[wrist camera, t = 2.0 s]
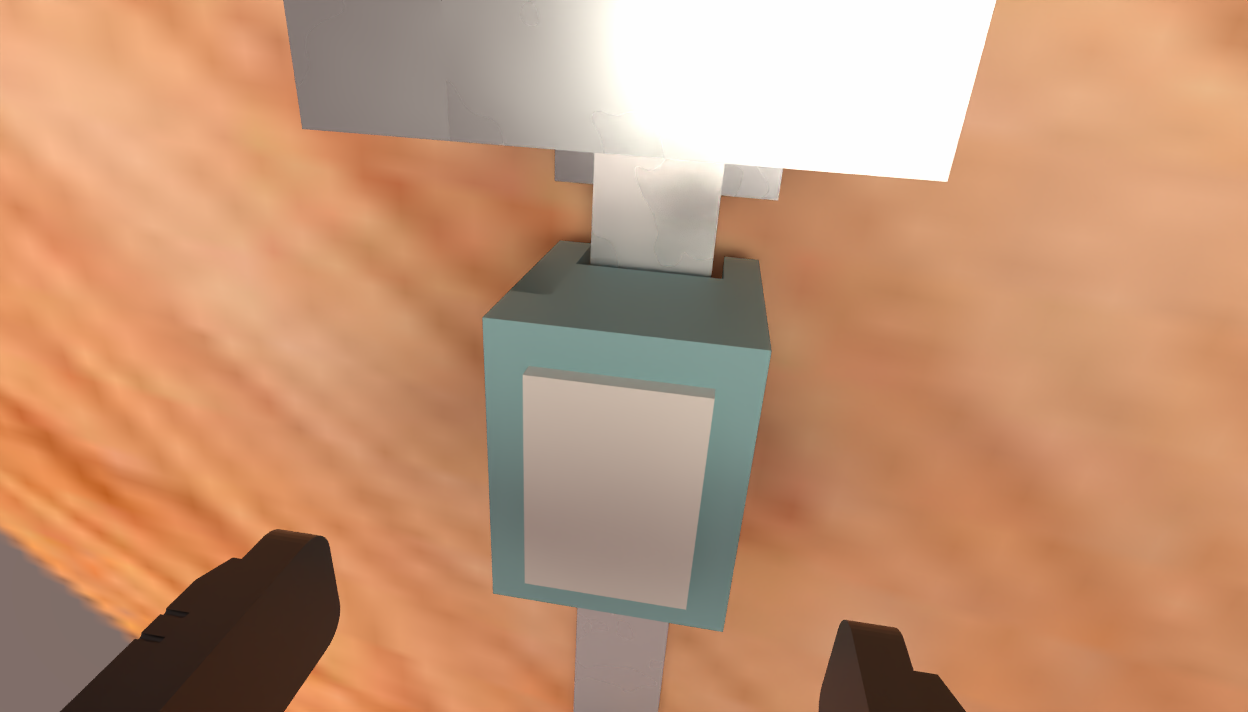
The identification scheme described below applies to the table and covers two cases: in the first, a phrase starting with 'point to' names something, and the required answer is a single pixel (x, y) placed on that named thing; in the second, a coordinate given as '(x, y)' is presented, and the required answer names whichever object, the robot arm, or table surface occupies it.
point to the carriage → (623, 434)
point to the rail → (658, 242)
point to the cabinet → (652, 77)
